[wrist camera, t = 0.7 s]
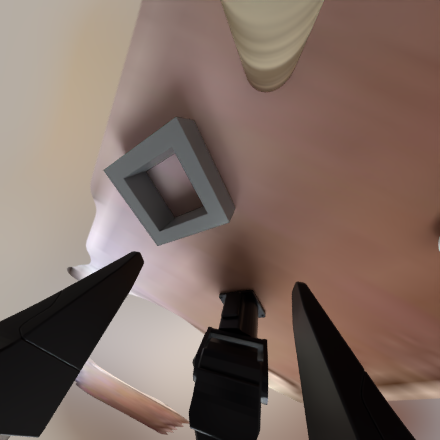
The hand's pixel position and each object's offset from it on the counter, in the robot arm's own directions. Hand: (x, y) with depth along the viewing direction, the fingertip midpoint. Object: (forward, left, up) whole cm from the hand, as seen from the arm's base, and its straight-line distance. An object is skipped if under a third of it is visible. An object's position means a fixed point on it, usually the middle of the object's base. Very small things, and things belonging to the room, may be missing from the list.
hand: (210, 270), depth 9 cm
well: (+4, +7, -13) cm, 15 cm away
